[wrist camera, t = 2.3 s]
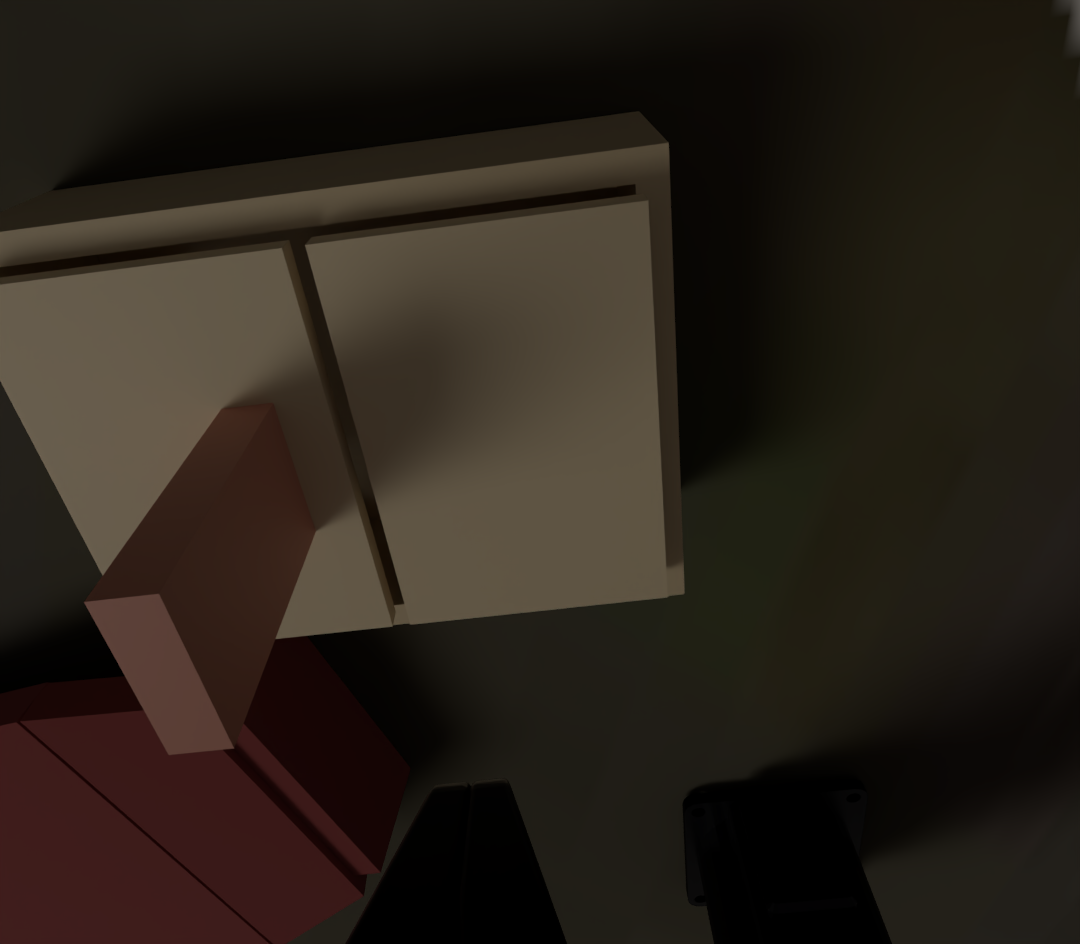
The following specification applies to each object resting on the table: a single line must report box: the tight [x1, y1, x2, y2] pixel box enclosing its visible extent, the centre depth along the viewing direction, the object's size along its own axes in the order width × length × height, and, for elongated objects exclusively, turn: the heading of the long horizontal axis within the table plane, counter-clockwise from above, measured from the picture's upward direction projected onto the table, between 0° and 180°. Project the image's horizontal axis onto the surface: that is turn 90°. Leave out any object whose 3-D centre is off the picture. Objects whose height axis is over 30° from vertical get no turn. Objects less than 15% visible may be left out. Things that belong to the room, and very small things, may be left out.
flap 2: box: [305, 194, 668, 625], centre depth 16 cm, size 9×6×1 cm
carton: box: [0, 636, 411, 944], centre depth 28 cm, size 12×5×25 cm
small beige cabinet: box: [0, 111, 684, 625], centre depth 18 cm, size 10×13×4 cm
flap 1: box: [0, 240, 396, 755], centre depth 14 cm, size 9×6×6 cm
